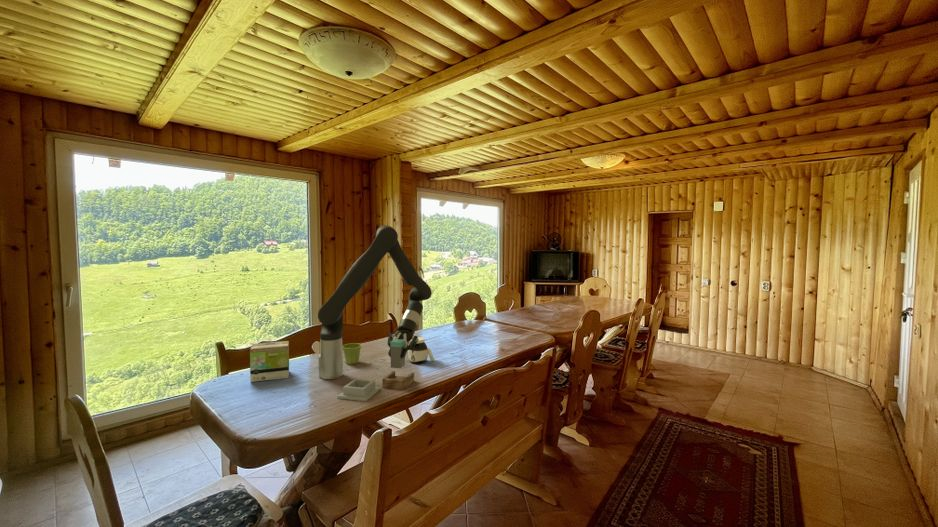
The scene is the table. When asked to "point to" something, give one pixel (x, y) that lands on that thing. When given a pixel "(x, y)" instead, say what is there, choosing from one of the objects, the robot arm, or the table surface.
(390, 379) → the cradle
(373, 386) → the port block
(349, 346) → the plant pot
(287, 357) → the tea box
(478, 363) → the table surface
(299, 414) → the table surface
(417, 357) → the spread jar
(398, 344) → the plug
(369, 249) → the robot arm
